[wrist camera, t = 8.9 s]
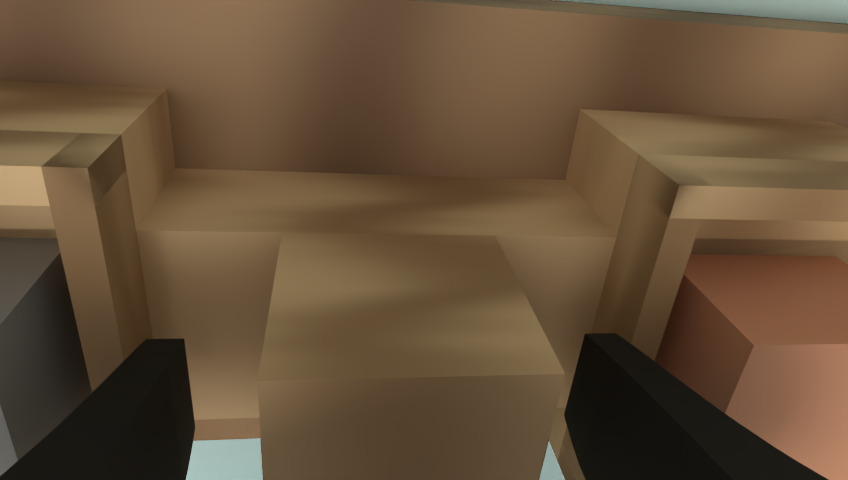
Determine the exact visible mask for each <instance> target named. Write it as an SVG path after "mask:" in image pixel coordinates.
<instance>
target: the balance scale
mask: <svg viewBox="0 0 848 480" xmlns="http://www.w3.org/2000/svg"><path fill="white" fill-rule="evenodd" d="M0 238H55V239H57V240H58V244H59V249H60V253H61V258H62V262H63V266H64V271H65V275H66V280H67V284H68V288H69V293H70V297H71V302H72V306H73V310H74V315H75V319H76V324H77V328H78V333H79V337H80V341H81V346H82V350H83V355H84V359H85V363H86V368H87V372H88V377H89V381H90V385H91V390H92V392H93V391H94V390H95V389H96V388H97V387H98V386H99V385H100V384H101V383H102V382H103V381H104V380H105V379H106V378H107V377H108V376H109V375H110V374H111V373H112V372H113V371H114V370H115V369H116V368H117V367H118V366H119V365H120V364H121V363H122V362H123V361H124V360H125V359H126V358H127V357H128V356H129V355H130V354H131V353H132V352H133V351H134V350H135V349H136V348H137V347H138V346H139V345H140V344H141V343H142V342H143V341H145V340H146V339H180V338H184V341H185V349H186V357H187V365H188V373H189V381H190V389H191V397H192V405H193V413H194V420H207V419H237V418H260V435H261V453H262V470H263V480H539V477H540V473H541V469H542V465H543V461H544V457H545V453H546V449H547V445H548V441H550V444H551V446H552V449H553V451H554V453H555V456H556V458H557V461H558V463H559V465H560V468H561V470H562V473H563V475H564V478H565V480H585V477H584V475H583V473H582V470H581V468H580V466H579V463H578V460H577V457H576V454H575V451H574V448H573V445H572V442H571V438H570V435H569V431H568V428H567V424H566V421H565V417H564V412H565V408H566V404H567V401H568V397H569V393H570V389H571V385H572V381H573V377H574V374H575V370H576V366H577V362H578V358H579V354H580V350H581V347H582V343H583V339H584V335H585V334H591V333H616V334H617V335H619V336H620V337H622V338H623V339H625V340H626V341H628V342H629V343H630V344H632V345H633V346H635V347H636V348H637V349H639V350H640V351H641V352H643V353H644V354H645V355H647V356H648V357H650V358H651V359H652V360H653V361H655V358H656V355H657V352H658V349H659V346H660V343H661V340H662V337H663V334H664V331H665V328H666V325H667V322H668V319H669V316H670V313H671V310H672V307H673V304H674V301H675V298H676V295H677V292H678V289H679V286H680V283H681V280H682V277H683V274H684V271H685V268H686V265H687V262H688V259H689V256H690V254H702V255H785V256H836V257H837V258H839V259H840V260H842V261H843V262H845V263H846V264H848V129H847V128H844V127H842V126H840V125H837V124H835V123H832V122H830V121H811V120H791V119H771V118H750V117H730V116H710V115H690V114H670V113H650V112H629V111H609V110H589V109H580V112H579V117H578V121H577V126H576V131H575V136H574V141H573V145H572V150H571V155H570V160H569V165H568V169H567V174H566V179H565V180H552V179H518V178H485V177H451V176H418V175H384V174H350V173H317V172H283V171H250V170H216V169H182V168H176V167H175V158H174V149H173V141H172V132H171V123H170V115H169V106H168V97H167V89H165V88H145V87H125V86H105V85H84V84H64V83H44V82H24V81H4V80H0Z"/></svg>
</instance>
